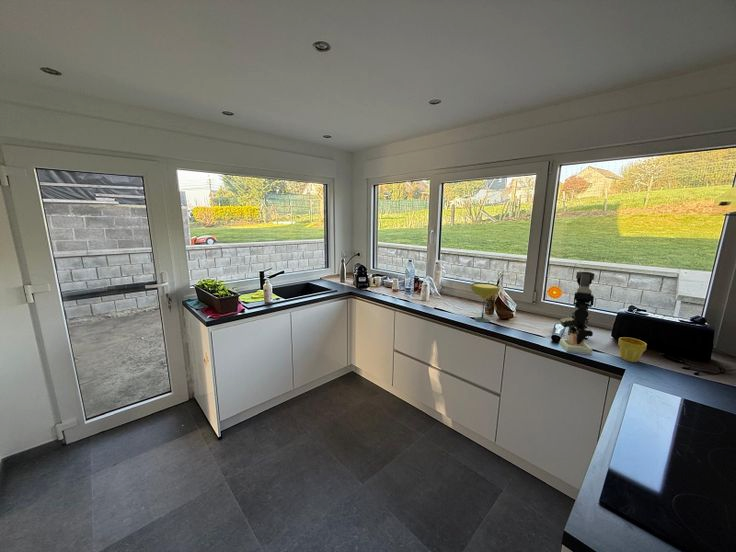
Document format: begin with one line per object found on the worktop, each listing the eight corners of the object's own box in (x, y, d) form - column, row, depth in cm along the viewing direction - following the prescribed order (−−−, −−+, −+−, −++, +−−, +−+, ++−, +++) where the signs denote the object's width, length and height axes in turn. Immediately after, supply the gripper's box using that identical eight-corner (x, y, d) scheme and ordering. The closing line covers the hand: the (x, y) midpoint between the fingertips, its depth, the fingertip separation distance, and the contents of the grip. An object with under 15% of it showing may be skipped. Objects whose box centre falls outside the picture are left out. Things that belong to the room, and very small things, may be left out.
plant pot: (637, 365, 138) (641, 346, 137) (611, 356, 147) (615, 339, 146) (647, 361, 143) (650, 343, 141) (621, 353, 152) (624, 335, 150)
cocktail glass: (479, 314, 213) (482, 281, 209) (501, 321, 198) (505, 286, 194) (463, 318, 204) (465, 284, 199) (485, 326, 189) (488, 289, 184)
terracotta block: (579, 342, 157) (580, 334, 156) (583, 346, 152) (584, 337, 152) (568, 341, 159) (569, 333, 158) (572, 345, 154) (573, 336, 153)
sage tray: (582, 346, 160) (583, 341, 159) (591, 354, 149) (592, 349, 149) (559, 343, 163) (560, 338, 162) (567, 352, 152) (568, 346, 152)
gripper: (557, 308, 163) (553, 334, 166) (569, 318, 146) (565, 347, 149) (579, 310, 160) (575, 336, 163) (595, 320, 143) (590, 350, 146)
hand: (576, 342), depth 155 cm, fingers closed on terracotta block, 5 cm apart
